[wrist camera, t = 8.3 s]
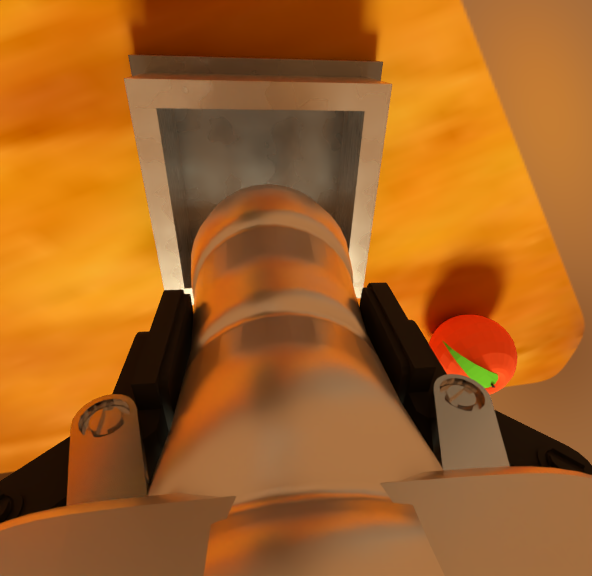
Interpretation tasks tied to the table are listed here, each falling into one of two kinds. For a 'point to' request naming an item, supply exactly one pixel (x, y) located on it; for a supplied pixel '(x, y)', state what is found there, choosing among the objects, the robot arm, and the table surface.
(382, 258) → the table surface
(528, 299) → the table surface
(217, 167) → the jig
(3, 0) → the table surface
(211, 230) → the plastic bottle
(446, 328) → the clementine
